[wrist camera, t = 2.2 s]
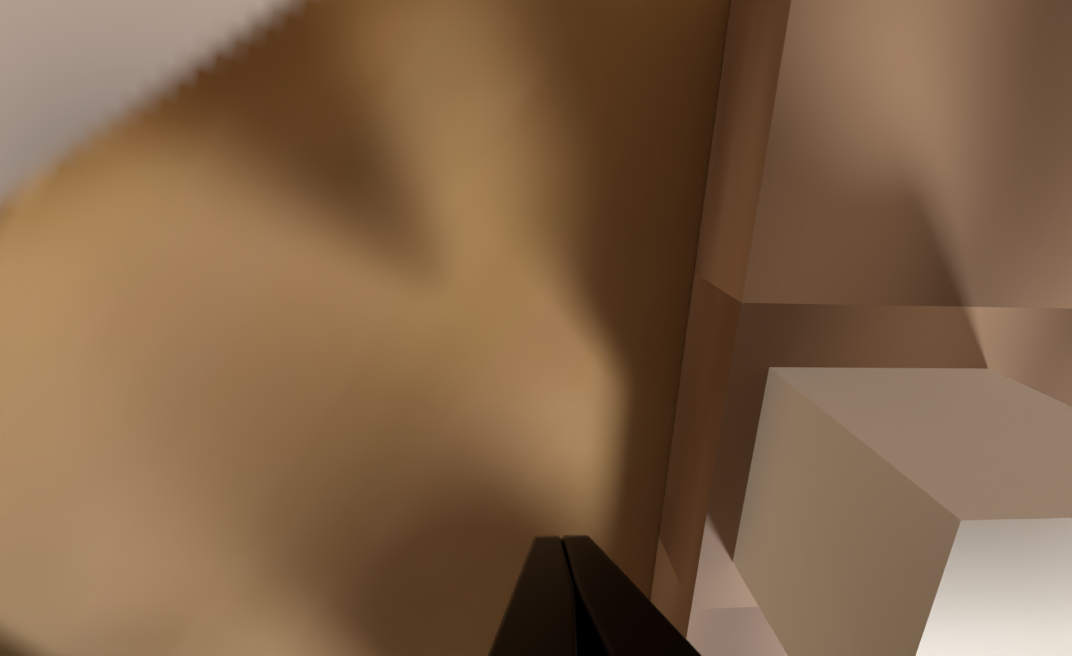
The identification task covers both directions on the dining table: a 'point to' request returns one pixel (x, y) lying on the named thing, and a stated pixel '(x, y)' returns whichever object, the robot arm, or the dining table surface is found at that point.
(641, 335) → the dining table surface
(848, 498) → the block
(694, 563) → the trap board
